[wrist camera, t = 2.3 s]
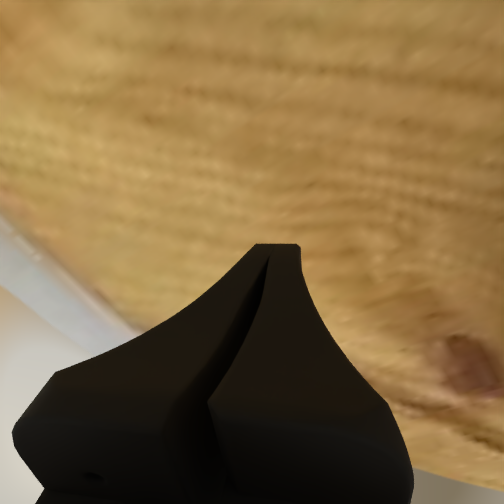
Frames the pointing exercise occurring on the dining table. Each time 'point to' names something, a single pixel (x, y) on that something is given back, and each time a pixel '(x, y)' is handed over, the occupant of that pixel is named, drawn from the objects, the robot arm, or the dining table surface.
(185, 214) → the dining table surface
